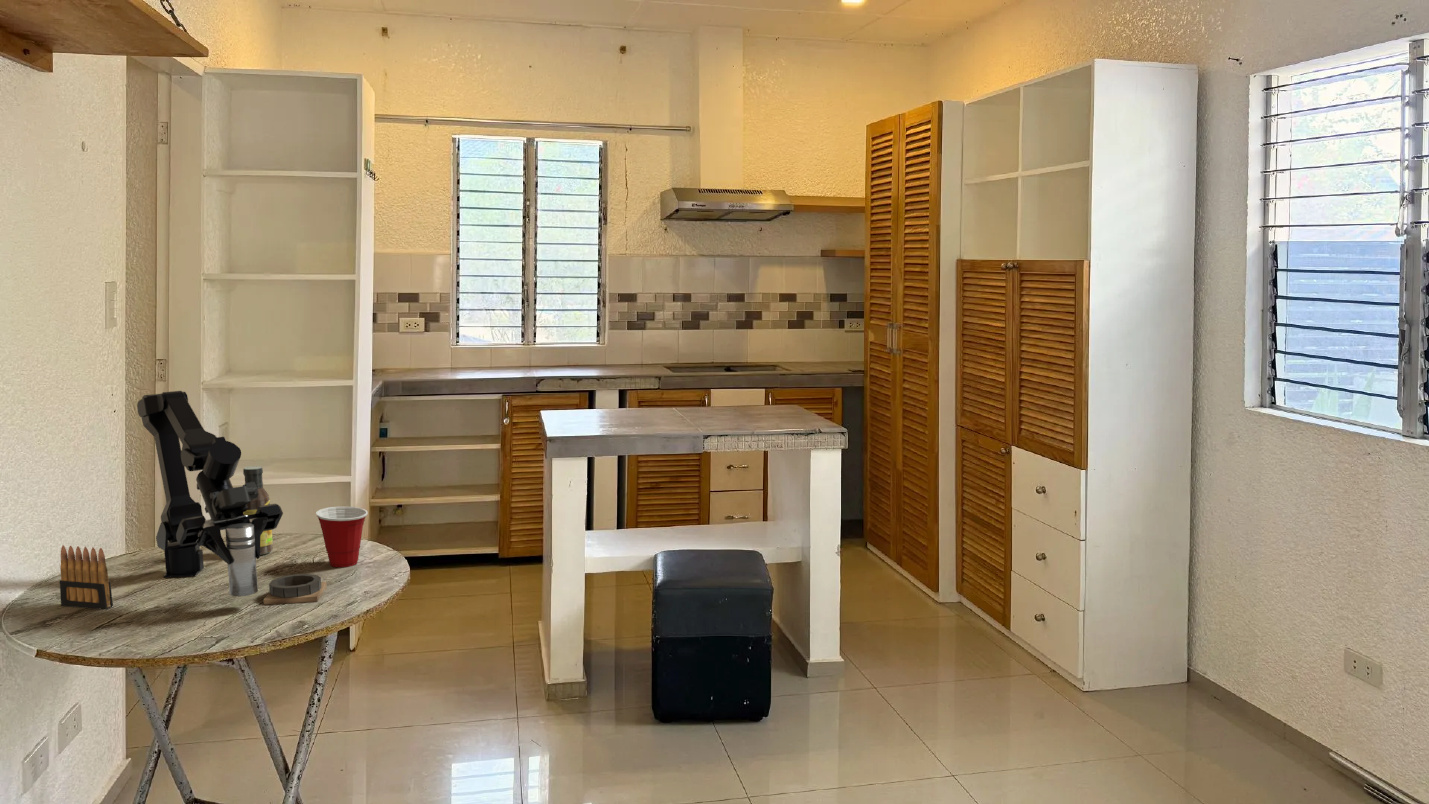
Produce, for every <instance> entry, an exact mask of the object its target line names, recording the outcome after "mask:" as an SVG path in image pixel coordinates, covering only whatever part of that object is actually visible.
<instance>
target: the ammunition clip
mask: <svg viewBox="0 0 1429 804" xmlns="http://www.w3.org/2000/svg"><path fill="white" fill-rule="evenodd" d="M60 577H61V579H60V580H59V589H60V590H59V592H60V606H61V607H68V608H69V607H70V608H71V607H73V608H83V609H93V610H103V609H106V610H108V608H109V609H111V608H113V607H114V601H113V593H112V585H111V581H109V572H108V567H107V562H106V556H105V553H104V550H103V547H100V548H99V550H98V553H97V551H96V549H95V547H94V546H93V547H92V548H91V550H90V553H89V550H88V548H87V547H86V546H84V547H83V551H81V548H80V546H79V545H78V546H77V547H76V549H75V551H74V548H73V546H72V545H69V547H68V551H67V549H66V546H65V545H64V544H63V545H62V546H61V549H60ZM112 606H113V607H112Z"/></svg>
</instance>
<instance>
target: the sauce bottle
mask: <svg viewBox="0 0 1429 804" xmlns="http://www.w3.org/2000/svg"><path fill="white" fill-rule="evenodd" d="M263 473H264V470H263V467H262V466H260V465H259V466H258V465H256V466H254V465H253V466H245V467H244V468H243V471H242V474H243V476H244V484H245V483H249V482H255V484H256V486H257V489H258V493H259V496H258V497H257V498H256V499H253V500H251V502H250V503H247V504H246V505H247V510H246V511H245V512H243V514H244V515H252V514H255V513H256V511H257V509H258V506H263V505H269V504H271V499H270V495H269V493H268V492H267V490H265V488H264V482H263ZM273 542H274V541H273V530H268V531H263V533H262V534H261V536H260V556H262V555H267V554H270V553H272V551H273Z"/></svg>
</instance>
